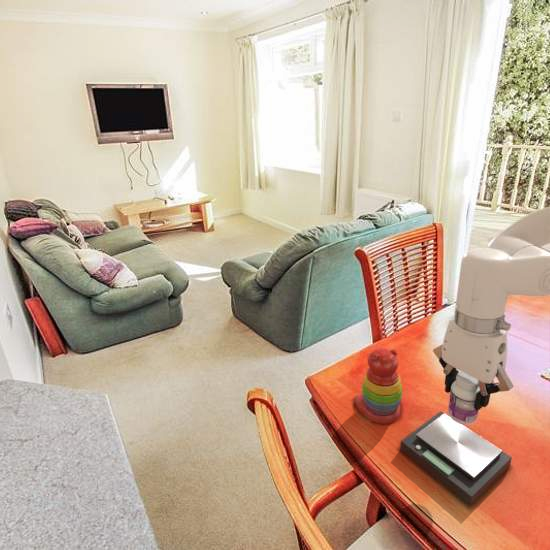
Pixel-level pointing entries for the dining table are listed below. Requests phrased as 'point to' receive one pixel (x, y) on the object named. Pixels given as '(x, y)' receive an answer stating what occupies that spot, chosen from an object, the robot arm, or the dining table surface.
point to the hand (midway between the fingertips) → (465, 397)
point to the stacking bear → (381, 387)
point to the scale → (452, 468)
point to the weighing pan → (459, 445)
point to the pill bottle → (463, 399)
